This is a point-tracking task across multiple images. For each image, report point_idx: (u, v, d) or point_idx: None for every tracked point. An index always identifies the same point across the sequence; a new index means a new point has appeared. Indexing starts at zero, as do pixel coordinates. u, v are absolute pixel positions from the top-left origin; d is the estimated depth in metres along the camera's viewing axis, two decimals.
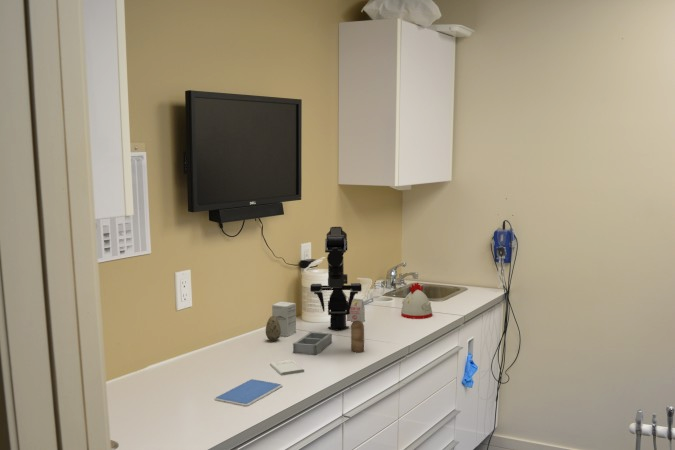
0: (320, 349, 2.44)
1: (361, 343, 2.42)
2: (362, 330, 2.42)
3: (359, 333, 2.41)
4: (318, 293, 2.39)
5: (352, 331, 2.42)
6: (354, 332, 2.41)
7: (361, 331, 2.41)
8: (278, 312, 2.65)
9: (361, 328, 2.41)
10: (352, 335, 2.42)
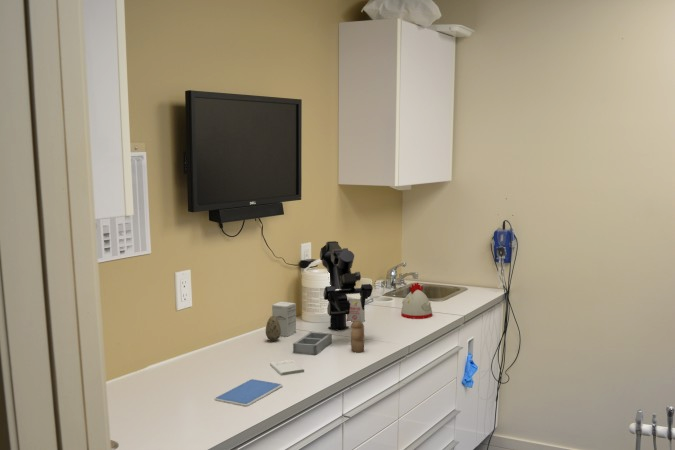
0: (320, 349, 2.44)
1: (361, 343, 2.42)
2: (362, 330, 2.42)
3: (359, 333, 2.41)
4: (333, 293, 2.51)
5: (352, 331, 2.42)
6: (354, 332, 2.41)
7: (361, 331, 2.41)
8: (278, 312, 2.65)
9: (361, 328, 2.41)
10: (352, 335, 2.42)
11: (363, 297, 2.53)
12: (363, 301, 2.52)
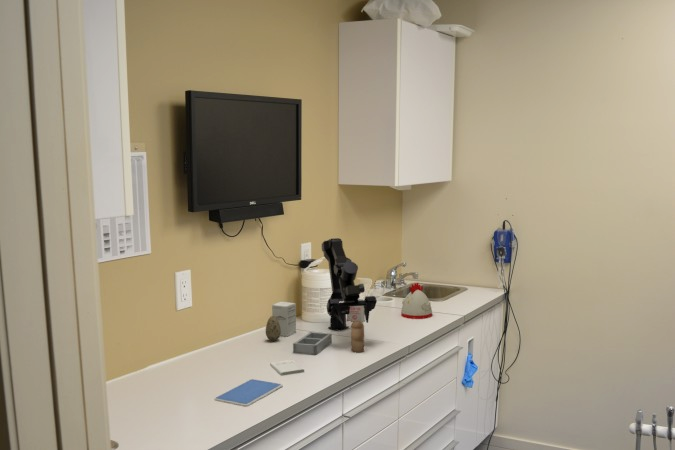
0: (320, 349, 2.44)
1: (361, 343, 2.42)
2: (362, 330, 2.42)
3: (359, 333, 2.41)
4: (337, 305, 2.46)
5: (352, 331, 2.42)
6: (354, 332, 2.41)
7: (361, 331, 2.41)
8: (278, 312, 2.65)
9: (361, 328, 2.41)
10: (352, 335, 2.42)
11: (367, 309, 2.48)
12: (367, 314, 2.48)
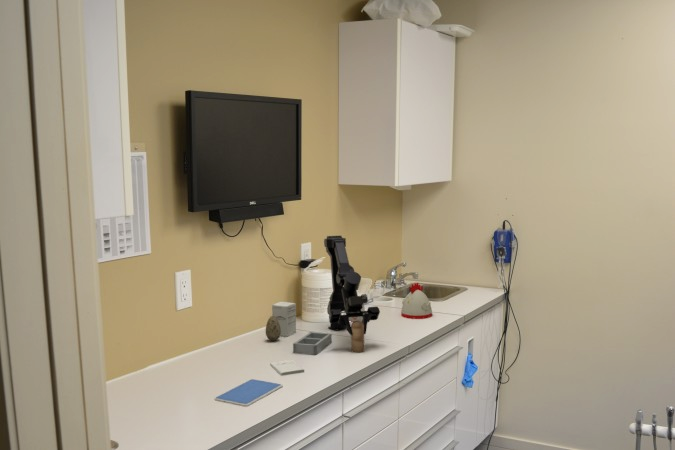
0: (320, 349, 2.44)
1: (361, 343, 2.42)
2: (362, 330, 2.42)
3: (359, 333, 2.41)
4: (345, 316, 2.43)
5: (352, 331, 2.42)
6: (354, 332, 2.41)
7: (361, 331, 2.41)
8: (278, 312, 2.65)
9: (361, 328, 2.41)
10: (352, 335, 2.42)
11: (365, 321, 2.44)
12: (365, 325, 2.44)
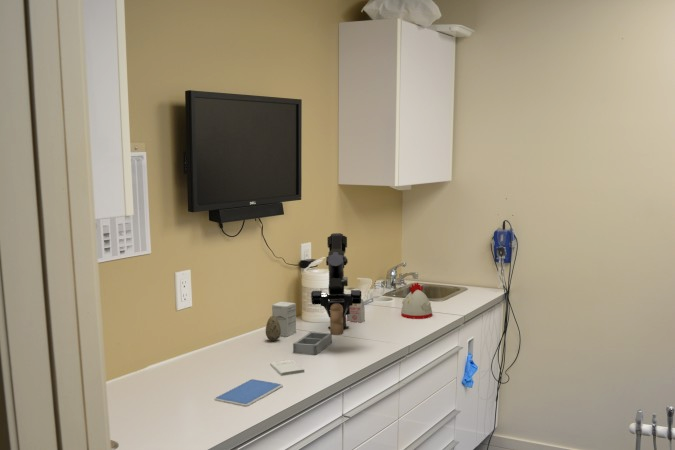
0: (320, 349, 2.44)
1: (338, 326, 2.40)
2: (340, 313, 2.40)
3: (336, 315, 2.39)
4: (324, 297, 2.43)
5: (330, 313, 2.41)
6: (332, 314, 2.40)
7: (339, 314, 2.40)
8: (278, 312, 2.65)
9: (339, 310, 2.39)
10: (330, 317, 2.41)
11: (345, 304, 2.42)
12: (344, 308, 2.41)
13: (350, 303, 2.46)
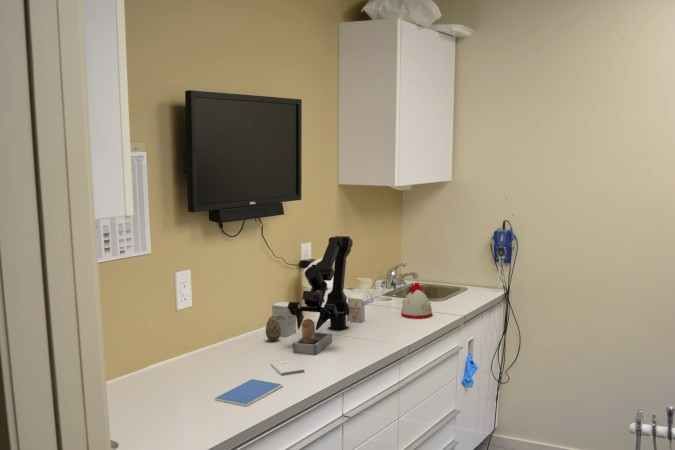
0: (320, 349, 2.44)
1: (308, 342, 2.42)
2: (310, 329, 2.42)
3: (306, 331, 2.42)
4: (296, 309, 2.47)
5: (302, 329, 2.44)
6: (302, 330, 2.43)
7: (308, 330, 2.42)
8: (278, 312, 2.65)
9: (308, 327, 2.42)
10: (302, 333, 2.44)
11: (319, 317, 2.43)
12: (318, 321, 2.43)
13: (328, 317, 2.46)
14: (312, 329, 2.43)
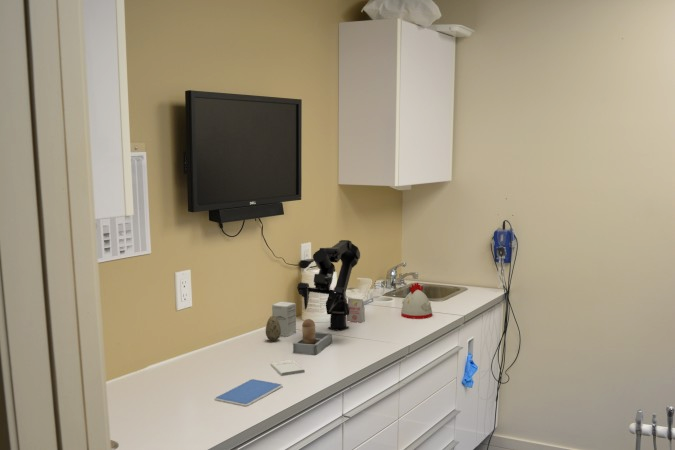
0: (320, 349, 2.44)
1: (308, 342, 2.42)
2: (310, 329, 2.42)
3: (306, 331, 2.42)
4: (303, 290, 2.55)
5: (302, 329, 2.44)
6: (303, 330, 2.43)
7: (308, 330, 2.42)
8: (278, 312, 2.65)
9: (308, 327, 2.42)
10: (302, 333, 2.44)
11: (332, 300, 2.52)
12: (330, 304, 2.52)
13: (339, 299, 2.55)
14: (312, 329, 2.43)
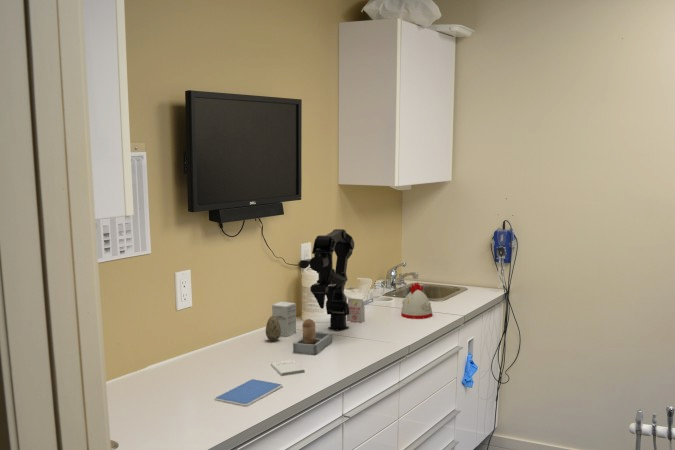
0: (320, 349, 2.44)
1: (308, 342, 2.42)
2: (310, 329, 2.42)
3: (306, 331, 2.42)
4: (326, 293, 2.53)
5: None
6: (303, 330, 2.43)
7: (308, 330, 2.42)
8: (278, 312, 2.65)
9: (308, 327, 2.42)
10: (303, 334, 2.44)
11: (333, 292, 2.65)
12: (332, 296, 2.65)
13: None
14: (312, 329, 2.42)
